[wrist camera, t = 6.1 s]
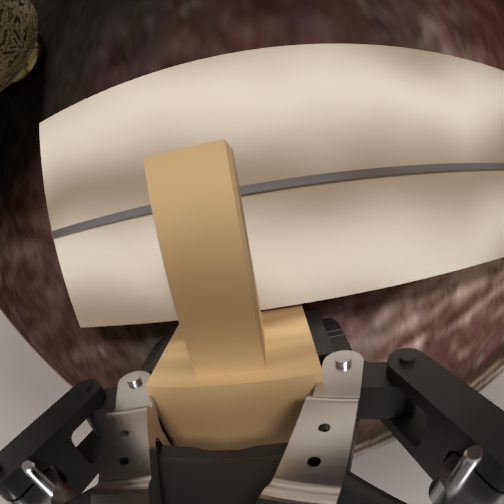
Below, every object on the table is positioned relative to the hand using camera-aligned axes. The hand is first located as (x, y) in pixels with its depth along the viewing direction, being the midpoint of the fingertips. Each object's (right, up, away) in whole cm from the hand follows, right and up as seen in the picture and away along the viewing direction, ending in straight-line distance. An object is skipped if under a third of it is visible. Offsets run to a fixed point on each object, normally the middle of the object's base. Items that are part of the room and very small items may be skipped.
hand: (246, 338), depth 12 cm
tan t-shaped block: (0, +3, 0) cm, 3 cm away
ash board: (+5, +8, -1) cm, 9 cm away
